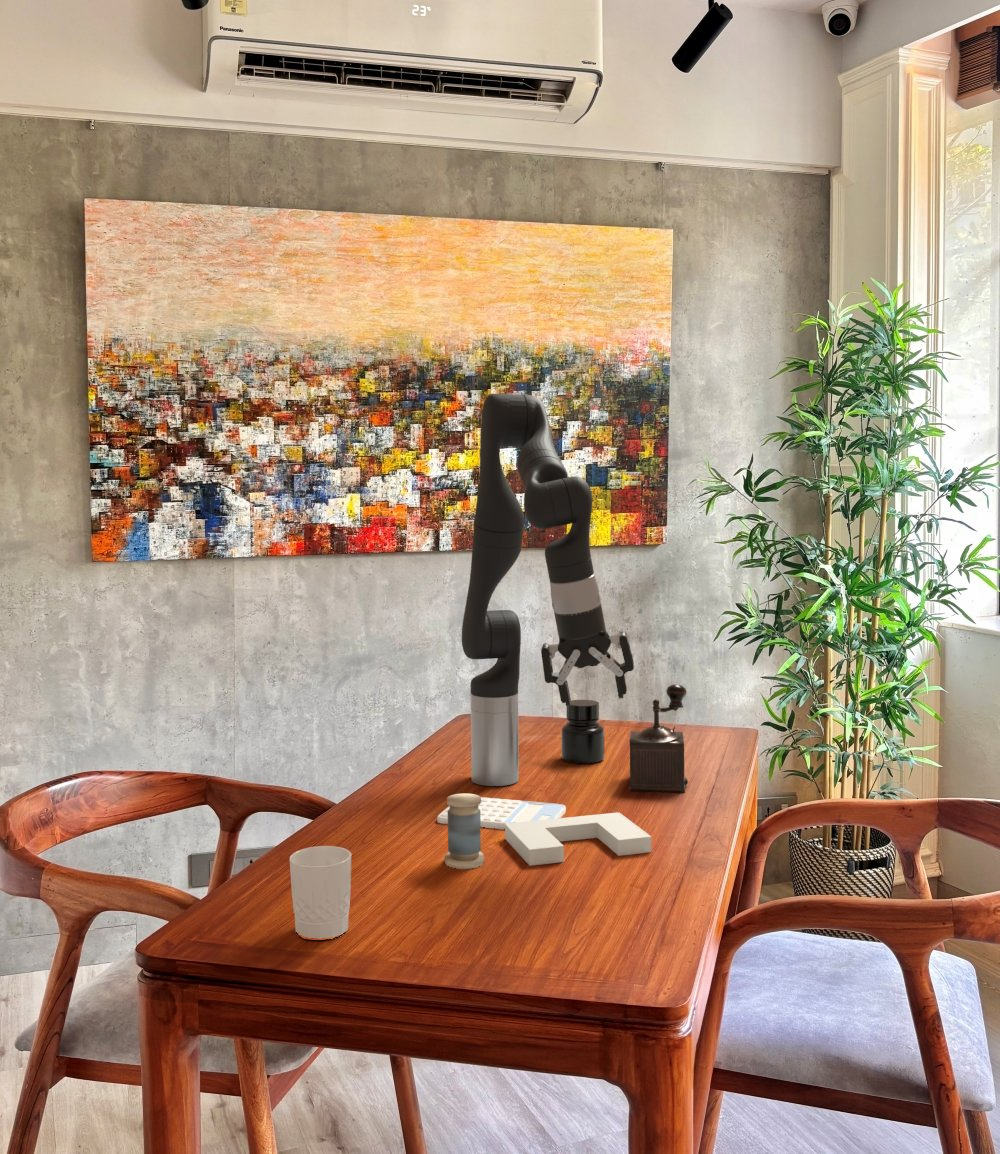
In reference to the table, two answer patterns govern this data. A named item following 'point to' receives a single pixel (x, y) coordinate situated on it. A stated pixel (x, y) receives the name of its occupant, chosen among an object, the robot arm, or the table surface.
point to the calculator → (511, 812)
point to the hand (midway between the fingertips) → (594, 700)
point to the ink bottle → (582, 733)
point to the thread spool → (464, 832)
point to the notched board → (575, 836)
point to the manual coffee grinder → (659, 752)
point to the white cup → (321, 890)
